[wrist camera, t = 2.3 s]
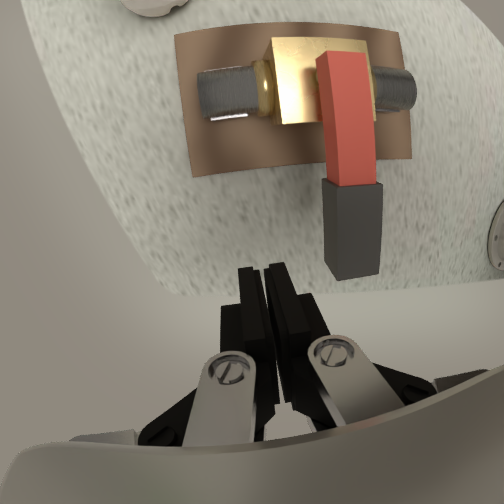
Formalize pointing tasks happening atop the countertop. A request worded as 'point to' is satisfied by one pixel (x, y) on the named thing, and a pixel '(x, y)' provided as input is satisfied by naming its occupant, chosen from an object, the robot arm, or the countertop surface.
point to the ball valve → (294, 83)
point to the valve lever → (349, 167)
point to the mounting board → (259, 128)
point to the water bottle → (152, 6)
